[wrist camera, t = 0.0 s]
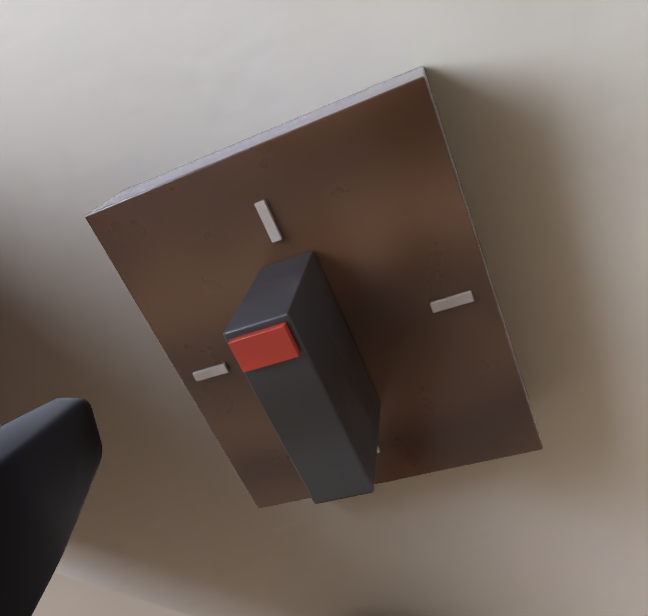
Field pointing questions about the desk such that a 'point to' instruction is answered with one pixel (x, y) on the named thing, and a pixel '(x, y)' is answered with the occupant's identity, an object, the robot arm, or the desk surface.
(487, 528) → the desk surface
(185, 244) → the base
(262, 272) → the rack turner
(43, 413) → the robot arm
